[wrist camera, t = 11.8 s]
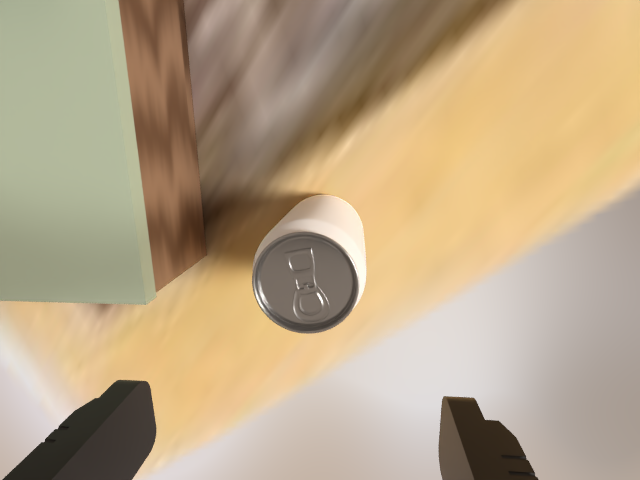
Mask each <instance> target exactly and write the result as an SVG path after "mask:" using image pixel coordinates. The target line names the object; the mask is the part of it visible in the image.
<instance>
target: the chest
mask: <svg viewBox="0 0 640 480" xmlns="http://www.w3.org/2000/svg"><path fill="white" fill-rule="evenodd" d="M118 1H119V9H120V17H121V25H122V32H123V40H124V48H125V56H126V63H127V71H128V79H129V87H130V95H131V102H132V110H133V118H134V126H135V133H136V141H137V149H138V157H139V165H140V172H141V180H142V188H143V196H144V204H145V211H146V219H147V227H148V235H149V242H150V250H151V258H152V266H153V274H154V281H155V289H156V292H157V291H159V290H160V289H161V288H163V287H164V286H166V285H167V284H168V283H170V282H171V281H172V280H174V279H175V278H176V277H178V276H179V275H180V274H182V273H183V272H185V271H186V270H187V269H189V268H190V267H191V266H193V265H194V264H195V263H197V262H198V261H199V260H201V259H202V258H203V257H205V256H206V255H207V254H206V243H205V232H204V221H203V210H202V199H201V188H200V177H199V166H198V155H197V144H196V133H195V122H194V111H193V100H192V89H191V78H190V67H189V56H188V45H187V34H186V24H185V13H184V2H183V0H118Z"/></svg>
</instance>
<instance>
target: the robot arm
mask: <svg viewBox="0 0 640 480" xmlns="http://www.w3.org/2000/svg"><path fill="white" fill-rule="evenodd" d="M155 437H156V422H155V416H154V409H153V402H152V396H151V389H150V386H149V384H148V382H146V381H132V380H118V381H116V382H115V383H113V384H112V385H111V386H110V387H109V388H108V389H107V390H106V391H105V392H104V393H103V394H102V395H101V396H100V397H99V398H95V399H93V400H92V401H90V402H89V403H87V404H85V405H84V406H82V407H80V408H79V409H77V410H75V411H74V412H73V413H72V414H71V415H70V416H69V417H68V418H67V419H66V420H65V421H64V422H63V423H61V424H60V425H59V428H58V429H55V430H54V431H53V432H52V433H51V434H50V435H49V436H48V437H47V438H46V439H45V442H44V443H43V442H42V443H41V444H39V445H38V446H37V447H36V448H35V449H34V450H33V451H32V452H31V453H30V454H29V455H28V456H27V457H26V458H25V459H24V460H23V461H22V462H21V463H20V464H19V465H17V466H16V467H15V468H14V469H13V470H12V471H11V472H10V473H9V474H8V475H7V476H6V477H5V478H4V479H3V480H132V479H133V477H134V476H135V474H136V473H137V471H138V470H139V468H140V467H141V465H142V464H143V462H144V461H145V459H146V458H147V456H148V455H149V453H150V452H151V450H152V447H153V445H154V442H155ZM439 462H440V470H441V475H442V479H443V480H538V478H537V477H535V472H534V471H533V469H532V467H531V465H530V463H529V461H528V460H526V455H525V454H524V452H523V450H522V448H521V446H520V444H519V442H518V440H517V438H516V437H515V436H514V435H513V434H512V433H511V432H510V431H509V430H508V429H507V428H506V427H505V426H504V425H502V424H501V423H500V422H499V421H493V420H485V419H484V417H483V415H482V413H481V411H480V408H479V406H478V404H477V402H476V400H475V399H474V398H466V397H446V396H444V397H443V400H442V408H441V423H440V435H439Z"/></svg>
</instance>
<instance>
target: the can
mask: <svg viewBox="0 0 640 480" xmlns="http://www.w3.org/2000/svg"><path fill="white" fill-rule="evenodd" d="M365 283H366V254H365V242H364V232H363V226H362V222H361V219H360V217H359V215H358V214H357V212H356V211H355V209H354V208H353V207H352V206H351V205H350V204H349V203H347V202H346V201H344V200H343V199H341V198H338V197H336V196H332V195H315V196H311V197H308V198H306V199H304V200H302V201H301V202H299V203H298V204H297V205H296V206H295V207H294V208H293V209H292V210H290V211H289V212H288V213H287V214H286V215H285V216H284V217H283V218H282V219H281V220H280V221H279V222H278V223H277V224H276V225H275V226H274V227H273V229H272V230H271V231H270V232H269V233H268V234H267V235H266V236H265V238H264V239H263V240H262V242H261V243H260V245H259V247H258V249H257V251H256V254H255V257H254V262H253V276H252V285H253V291H254V295H255V298H256V300H257V303H258V304H259V306H260V308H261V309H262V311H263V312H264V313H265V314H266V315H267V317H269V318H270V319H271V320H272V321H273V322H274V323H276V324H277V325H279V326H281V327H283V328H285V329H287V330H290V331H293V332H298V333H318V332H323V331H326V330H329V329H331V328H333V327H335V326H336V325H338V324H339V323H341V322H342V321H343V320H344V319H345V318H346V317H347V316H348V315H349V314H350V312H351V311H352V310H353V308H354V307H355V306H356V305H357V303H358V302H359V300H360V298H361V296H362V294H363V291H364V287H365Z"/></svg>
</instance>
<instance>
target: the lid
mask: <svg viewBox="0 0 640 480" xmlns="http://www.w3.org/2000/svg"><path fill="white" fill-rule="evenodd" d="M154 298H156V289H155V281H154V274H153V266H152V258H151V250H150V242H149V235H148V227H147V219H146V211H145V204H144V196H143V188H142V180H141V172H140V165H139V157H138V149H137V141H136V133H135V126H134V118H133V110H132V102H131V95H130V87H129V79H128V71H127V63H126V56H125V48H124V40H123V32H122V25H121V17H120V9H119V1H118V0H0V301H29V302H66V303H104V304H141V305H146V304H148V303H149V302H150V301H152V300H153V299H154Z"/></svg>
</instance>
